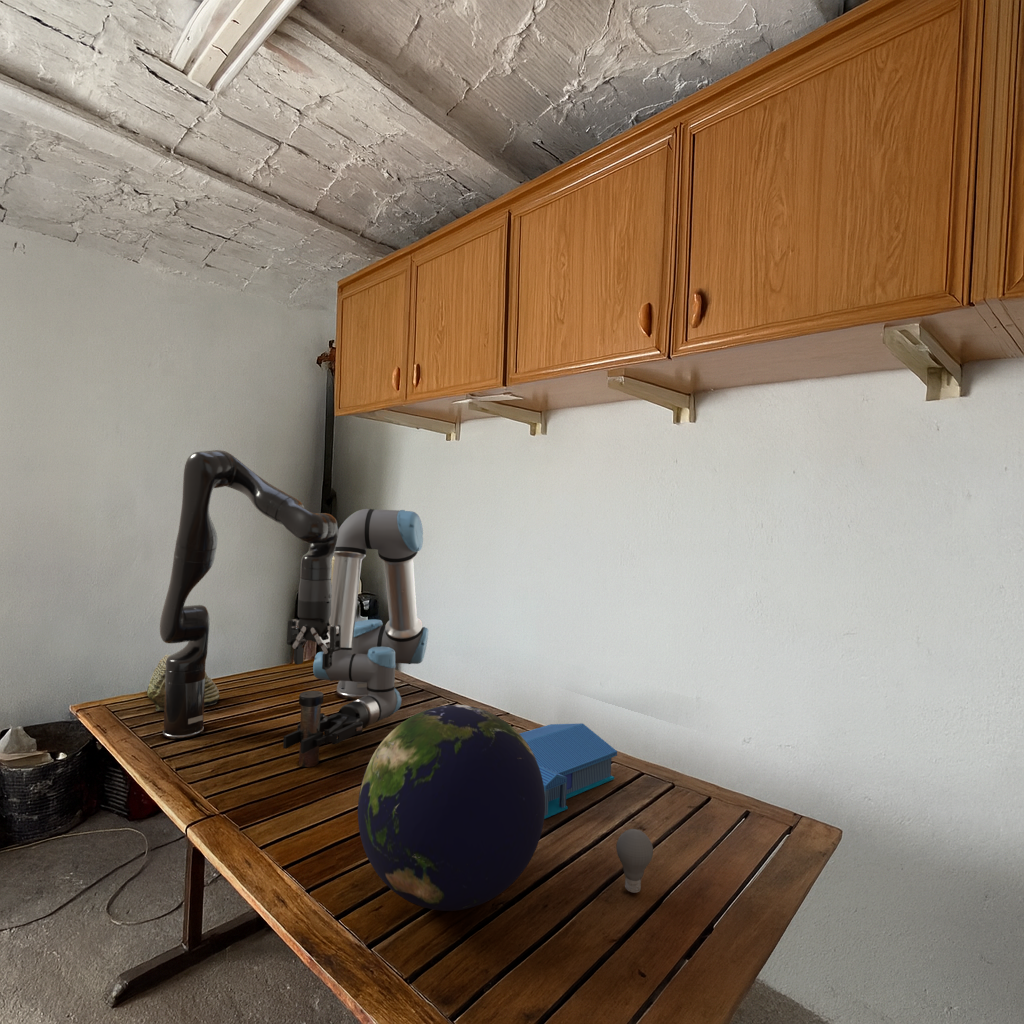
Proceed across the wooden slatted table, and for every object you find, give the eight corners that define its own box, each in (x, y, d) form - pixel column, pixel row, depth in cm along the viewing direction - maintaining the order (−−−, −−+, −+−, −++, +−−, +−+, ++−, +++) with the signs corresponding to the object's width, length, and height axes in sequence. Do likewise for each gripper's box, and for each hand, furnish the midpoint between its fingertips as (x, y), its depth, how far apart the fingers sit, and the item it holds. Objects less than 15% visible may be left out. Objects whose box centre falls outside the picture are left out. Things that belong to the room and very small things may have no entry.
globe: (313, 921, 95) (320, 722, 94) (416, 828, 122) (422, 674, 122) (496, 988, 83) (506, 762, 83) (564, 869, 111) (572, 699, 110)
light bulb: (610, 879, 108) (613, 822, 108) (644, 879, 109) (647, 822, 109) (619, 902, 102) (622, 840, 102) (655, 901, 103) (658, 840, 103)
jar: (303, 768, 147) (306, 700, 147) (295, 762, 150) (298, 695, 150) (321, 764, 150) (324, 696, 150) (314, 757, 153) (316, 691, 153)
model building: (497, 839, 120) (500, 786, 120) (424, 791, 138) (425, 745, 138) (625, 783, 146) (627, 740, 146) (549, 749, 164) (551, 711, 164)
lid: (304, 708, 146) (304, 699, 146) (295, 701, 150) (295, 693, 150) (327, 704, 150) (327, 695, 149) (317, 697, 154) (317, 689, 154)
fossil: (144, 707, 182) (145, 655, 182) (212, 696, 194) (213, 647, 194) (151, 716, 175) (153, 662, 175) (221, 703, 188) (223, 653, 188)
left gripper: (280, 596, 149) (277, 665, 149) (329, 602, 143) (326, 674, 143) (302, 592, 156) (299, 658, 156) (349, 598, 150) (347, 667, 150)
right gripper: (385, 735, 163) (322, 769, 142) (330, 723, 170) (264, 753, 149) (386, 706, 163) (324, 735, 141) (331, 695, 170) (265, 721, 149)
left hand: (312, 666), depth 150 cm, fingers open, 8 cm apart
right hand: (293, 744), depth 145 cm, fingers closed on jar, 4 cm apart
